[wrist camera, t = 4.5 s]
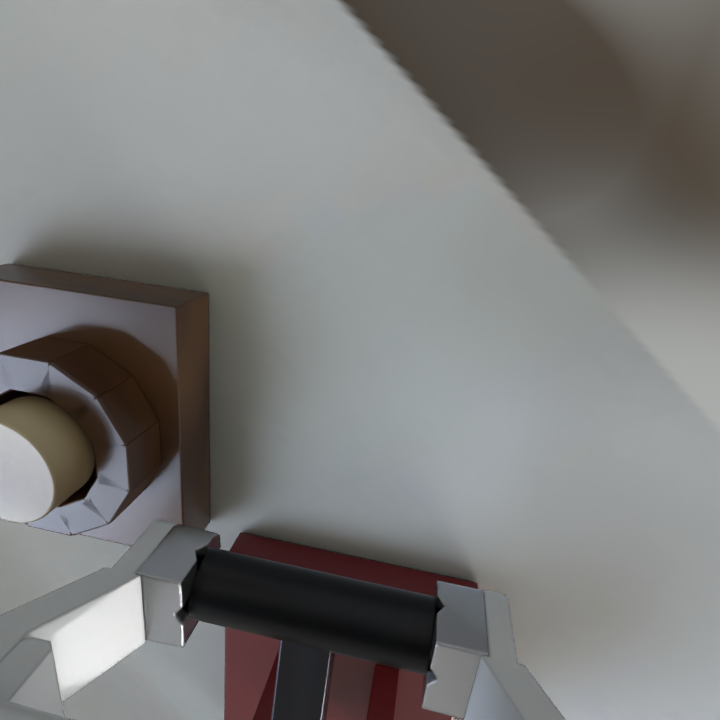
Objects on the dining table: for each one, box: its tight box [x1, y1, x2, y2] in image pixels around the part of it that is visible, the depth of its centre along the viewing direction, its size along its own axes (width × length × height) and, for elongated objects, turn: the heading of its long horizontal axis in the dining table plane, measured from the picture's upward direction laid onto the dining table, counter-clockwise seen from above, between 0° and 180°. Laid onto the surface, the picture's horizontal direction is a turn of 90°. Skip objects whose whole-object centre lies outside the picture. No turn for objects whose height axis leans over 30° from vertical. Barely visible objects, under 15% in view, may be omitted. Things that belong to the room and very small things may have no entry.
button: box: [0, 396, 95, 523], centre depth 15 cm, size 4×4×2 cm
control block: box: [0, 264, 210, 546], centre depth 17 cm, size 10×8×4 cm
